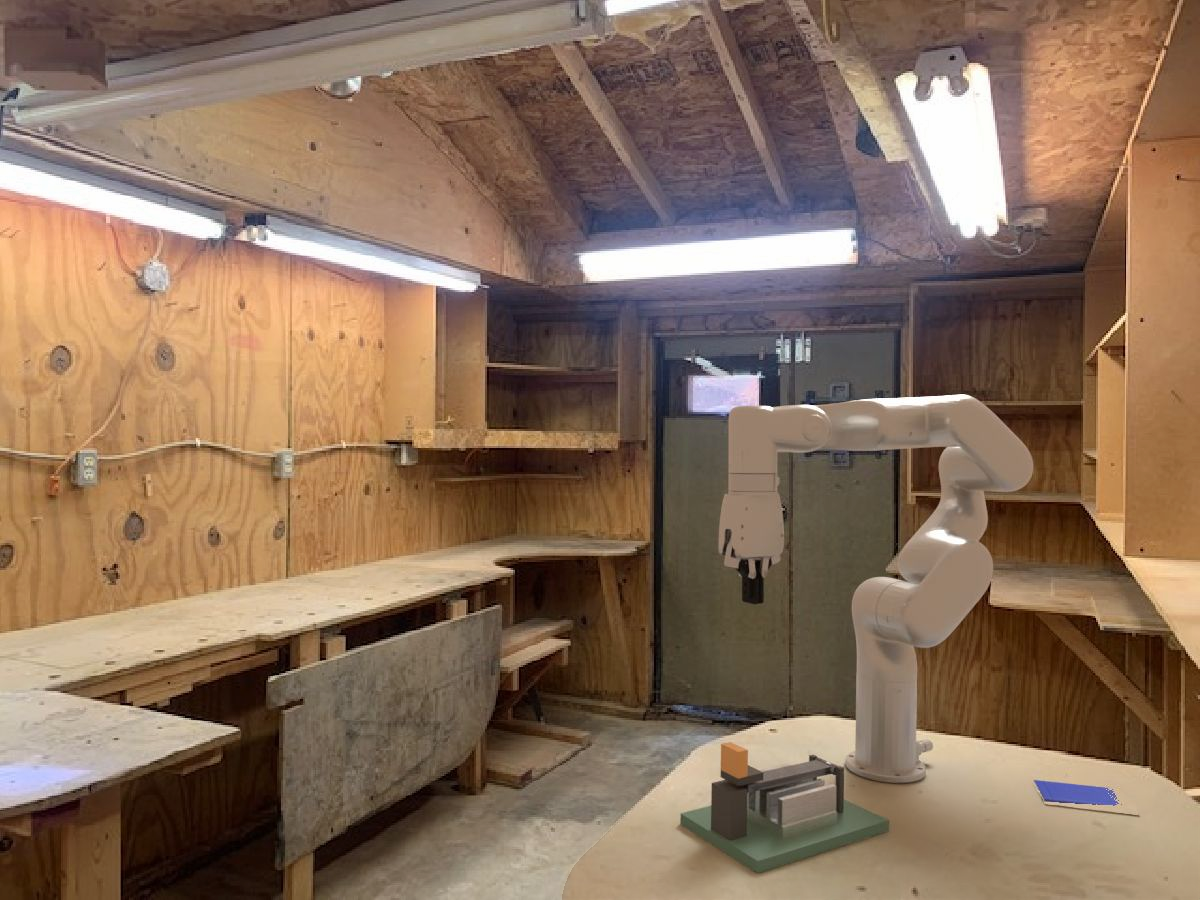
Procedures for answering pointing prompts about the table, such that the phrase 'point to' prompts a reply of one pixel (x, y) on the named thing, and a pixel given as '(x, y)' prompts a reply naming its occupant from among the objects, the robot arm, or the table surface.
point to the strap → (792, 774)
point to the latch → (737, 765)
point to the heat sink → (793, 806)
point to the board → (767, 850)
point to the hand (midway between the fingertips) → (752, 602)
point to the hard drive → (1075, 793)
